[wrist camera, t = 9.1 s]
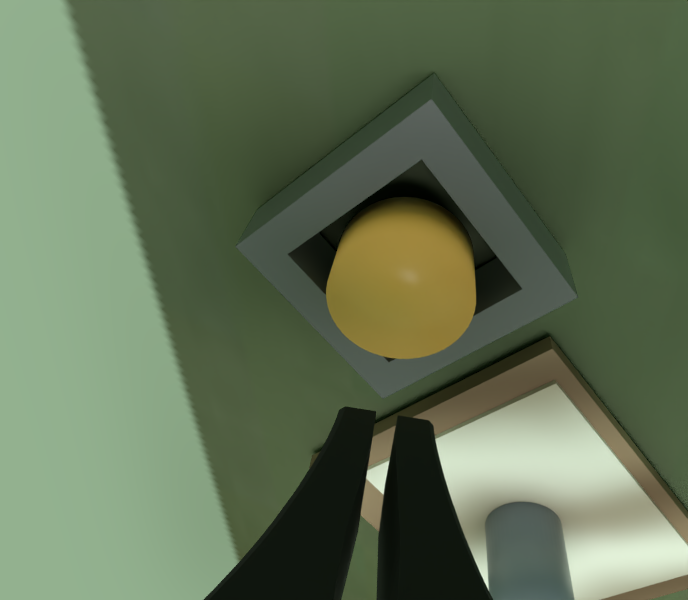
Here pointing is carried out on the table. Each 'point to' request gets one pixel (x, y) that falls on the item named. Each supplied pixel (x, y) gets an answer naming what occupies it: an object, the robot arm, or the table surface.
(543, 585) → the marker
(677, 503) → the clipboard
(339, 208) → the button base
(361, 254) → the button
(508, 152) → the table surface
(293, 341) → the table surface
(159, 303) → the table surface
